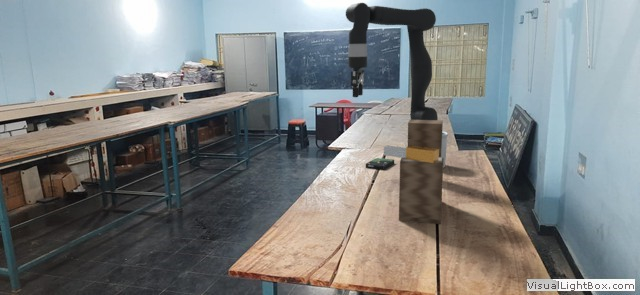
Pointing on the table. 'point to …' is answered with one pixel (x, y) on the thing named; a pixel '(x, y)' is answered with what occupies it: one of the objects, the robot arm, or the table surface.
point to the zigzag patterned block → (422, 176)
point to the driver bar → (413, 153)
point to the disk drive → (380, 164)
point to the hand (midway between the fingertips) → (357, 96)
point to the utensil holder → (444, 146)
